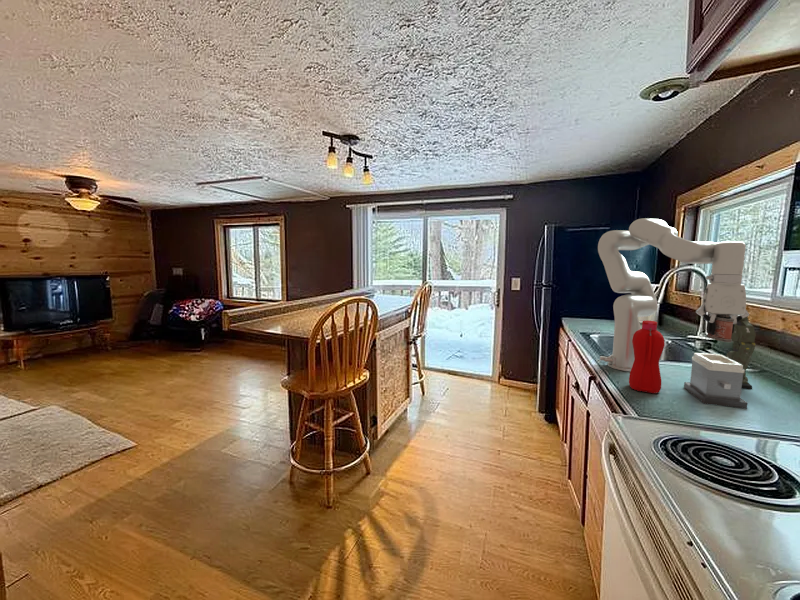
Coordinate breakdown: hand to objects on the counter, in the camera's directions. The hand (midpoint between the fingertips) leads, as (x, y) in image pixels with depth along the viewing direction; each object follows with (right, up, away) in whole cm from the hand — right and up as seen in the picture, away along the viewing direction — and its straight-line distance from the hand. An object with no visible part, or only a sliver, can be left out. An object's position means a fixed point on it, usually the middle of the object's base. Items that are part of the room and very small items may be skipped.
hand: (719, 334), depth 119 cm
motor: (0, -22, +2) cm, 22 cm away
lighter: (0, -2, 0) cm, 2 cm away
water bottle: (-19, -21, +9) cm, 30 cm away
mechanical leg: (+20, -20, +17) cm, 33 cm away
